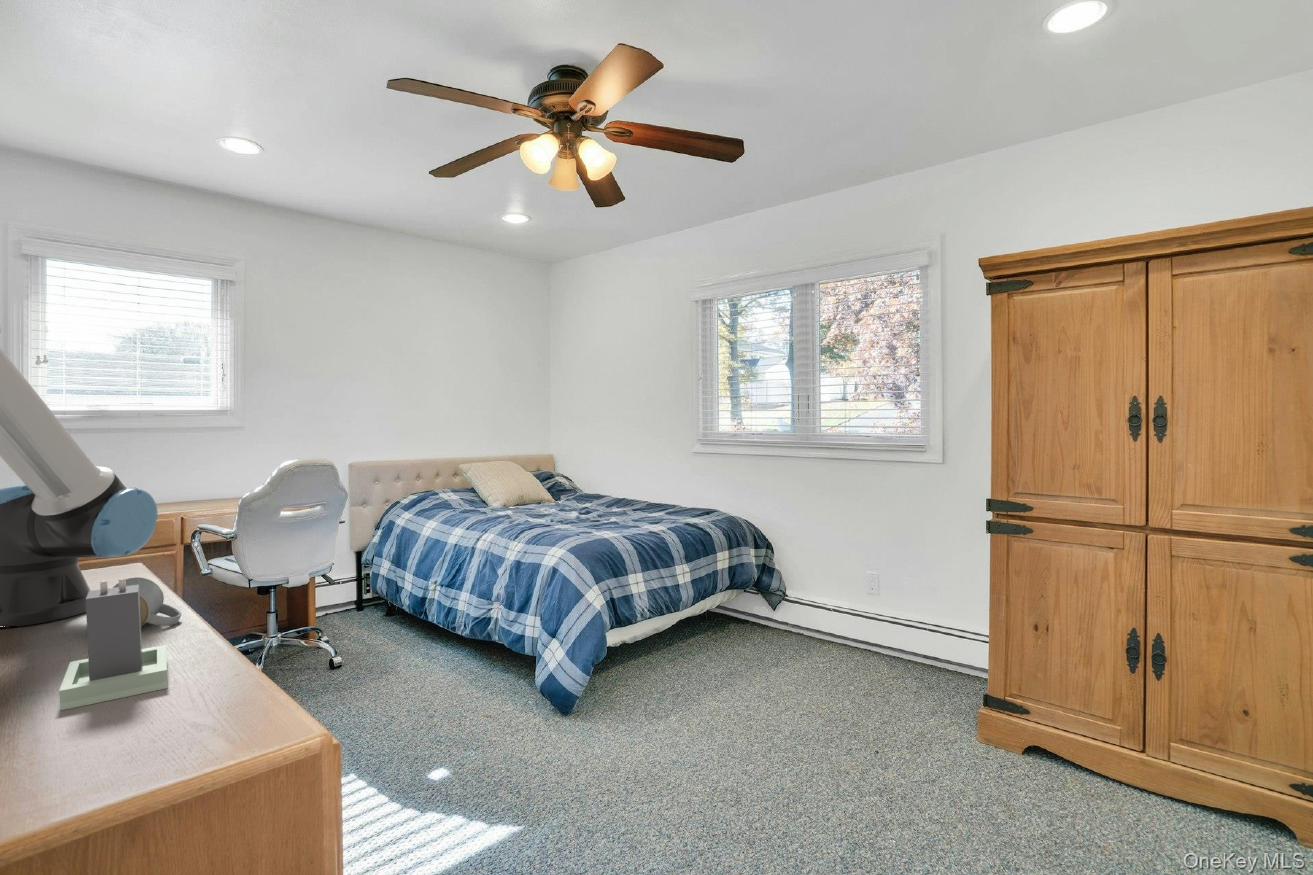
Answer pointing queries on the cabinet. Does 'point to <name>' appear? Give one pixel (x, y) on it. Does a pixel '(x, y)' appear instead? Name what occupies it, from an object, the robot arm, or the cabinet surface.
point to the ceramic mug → (153, 603)
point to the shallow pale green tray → (113, 681)
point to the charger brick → (113, 631)
